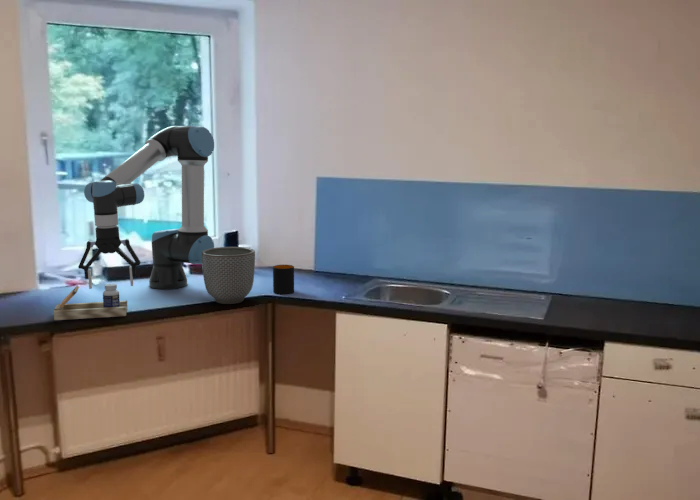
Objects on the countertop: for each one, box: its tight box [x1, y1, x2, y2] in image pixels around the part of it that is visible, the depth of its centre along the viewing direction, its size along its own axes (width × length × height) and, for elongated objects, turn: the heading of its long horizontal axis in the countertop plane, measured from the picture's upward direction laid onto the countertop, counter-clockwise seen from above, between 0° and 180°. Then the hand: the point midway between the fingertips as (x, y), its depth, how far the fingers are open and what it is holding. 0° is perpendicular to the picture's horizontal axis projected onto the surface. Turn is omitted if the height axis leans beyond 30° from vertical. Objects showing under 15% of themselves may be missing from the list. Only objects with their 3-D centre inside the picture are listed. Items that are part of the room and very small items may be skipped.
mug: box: [272, 264, 295, 296], centre depth 274 cm, size 8×12×10 cm
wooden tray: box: [53, 300, 128, 321], centre depth 239 cm, size 23×10×4 cm, turn 105°
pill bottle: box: [102, 283, 121, 308], centre depth 240 cm, size 5×5×10 cm
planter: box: [201, 246, 256, 305], centre depth 257 cm, size 20×20×19 cm
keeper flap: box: [59, 285, 80, 308], centre depth 236 cm, size 7×9×1 cm
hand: (111, 286), depth 240 cm, fingers open, 13 cm apart
